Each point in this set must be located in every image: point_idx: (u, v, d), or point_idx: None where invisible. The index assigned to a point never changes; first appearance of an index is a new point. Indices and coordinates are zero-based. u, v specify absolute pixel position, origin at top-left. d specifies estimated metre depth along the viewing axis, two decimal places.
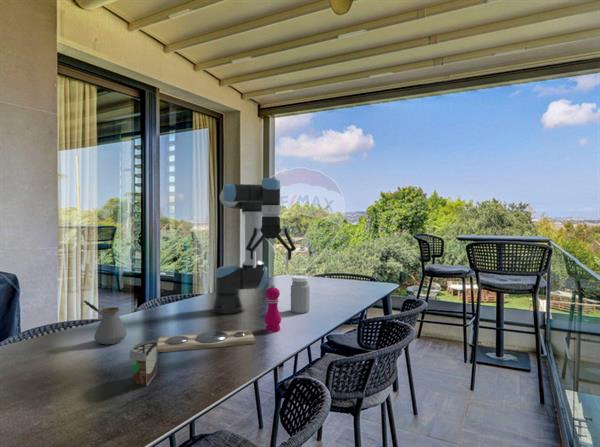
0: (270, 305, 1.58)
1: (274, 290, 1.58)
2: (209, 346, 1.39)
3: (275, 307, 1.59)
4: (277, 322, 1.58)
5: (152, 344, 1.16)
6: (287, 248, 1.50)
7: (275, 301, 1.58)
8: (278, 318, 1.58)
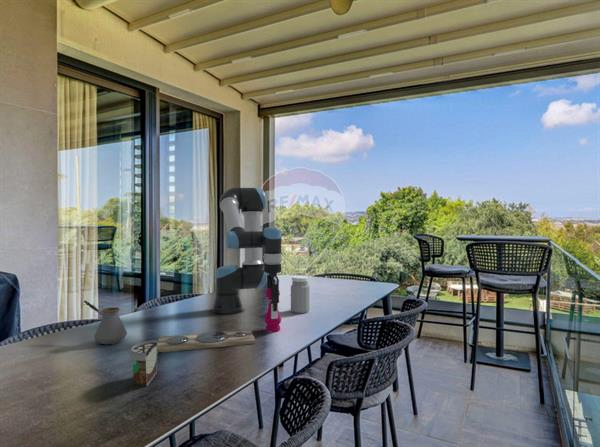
0: (270, 305, 1.58)
1: None
2: (209, 346, 1.39)
3: None
4: (277, 322, 1.58)
5: (152, 344, 1.16)
6: None
7: None
8: (278, 318, 1.58)
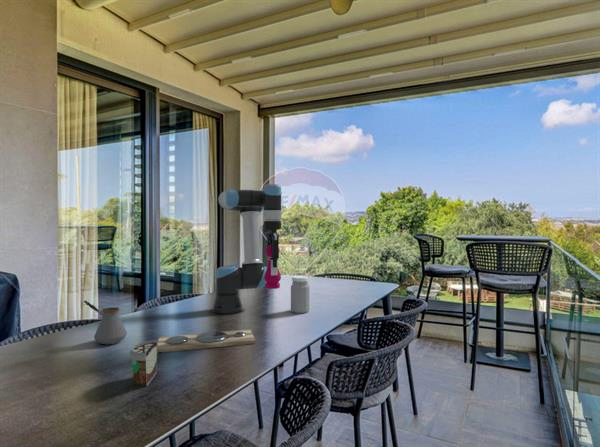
0: (270, 262, 1.58)
1: None
2: (209, 346, 1.39)
3: None
4: (277, 279, 1.57)
5: (152, 344, 1.16)
6: (271, 255, 1.56)
7: None
8: (278, 275, 1.58)
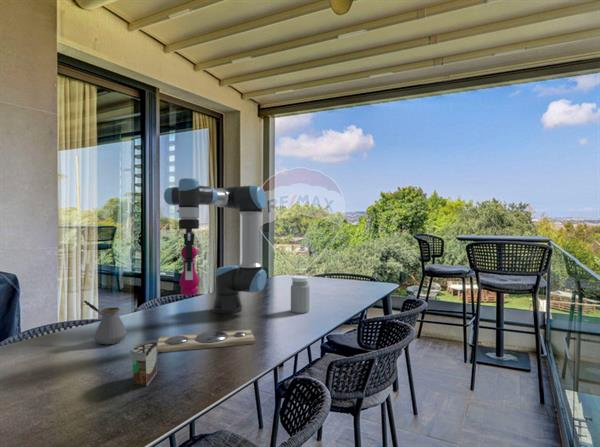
0: None
1: None
2: (209, 346, 1.39)
3: None
4: (192, 284, 1.41)
5: (152, 344, 1.16)
6: None
7: None
8: (194, 280, 1.41)
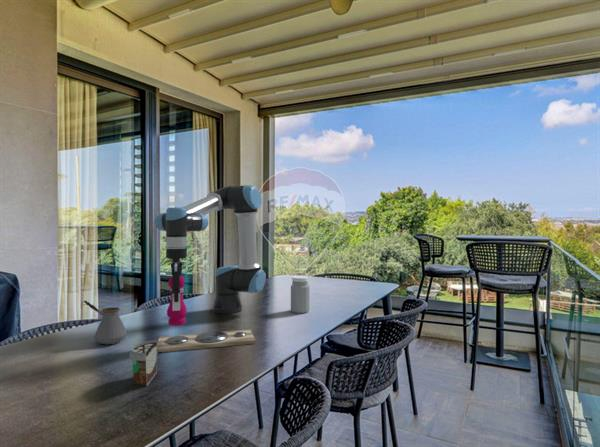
0: None
1: None
2: (209, 346, 1.39)
3: None
4: (180, 314, 1.39)
5: (152, 344, 1.16)
6: None
7: None
8: (181, 310, 1.40)
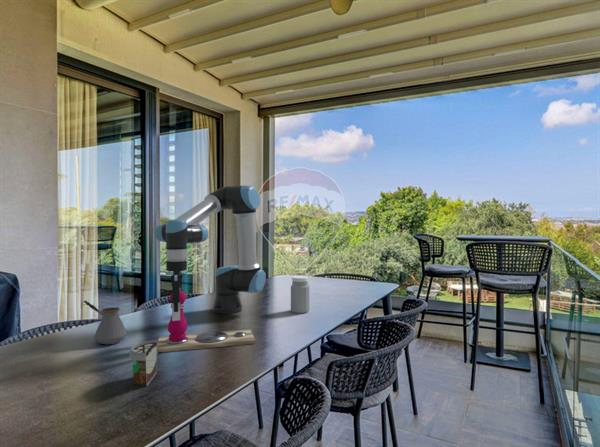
0: None
1: None
2: (209, 346, 1.39)
3: None
4: (181, 330, 1.39)
5: (152, 344, 1.16)
6: None
7: None
8: (182, 326, 1.40)
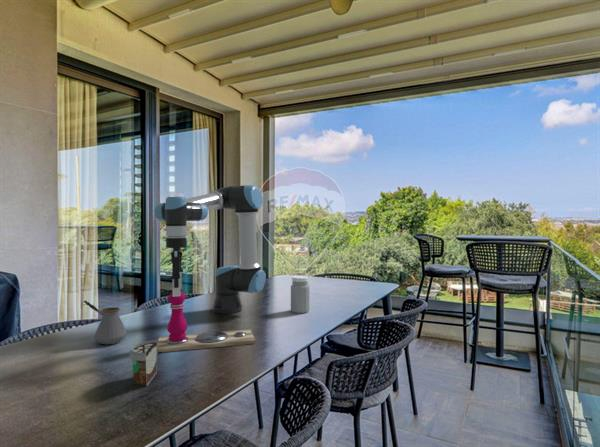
0: (173, 311, 1.40)
1: None
2: (209, 346, 1.39)
3: (179, 313, 1.40)
4: (180, 330, 1.39)
5: (152, 344, 1.16)
6: None
7: (178, 306, 1.40)
8: (182, 326, 1.40)
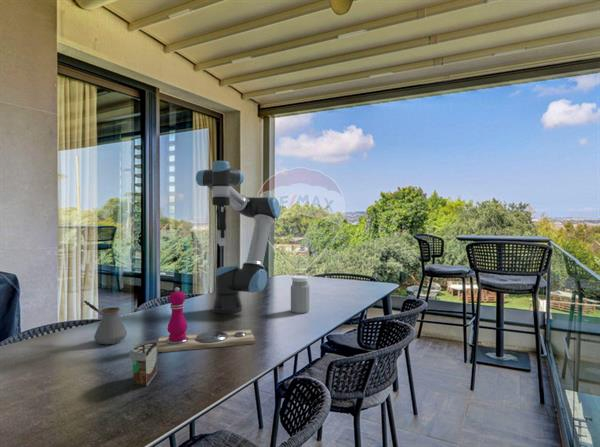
0: (173, 311, 1.40)
1: (177, 294, 1.40)
2: (209, 346, 1.39)
3: (179, 313, 1.40)
4: (180, 330, 1.39)
5: (152, 344, 1.16)
6: (219, 226, 1.56)
7: (178, 307, 1.40)
8: (182, 326, 1.40)
